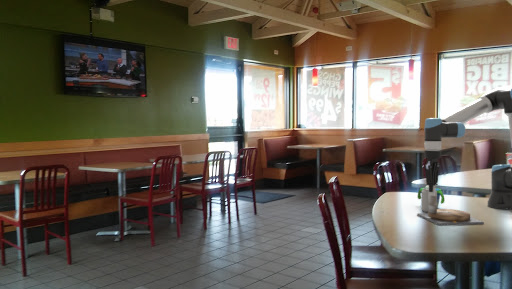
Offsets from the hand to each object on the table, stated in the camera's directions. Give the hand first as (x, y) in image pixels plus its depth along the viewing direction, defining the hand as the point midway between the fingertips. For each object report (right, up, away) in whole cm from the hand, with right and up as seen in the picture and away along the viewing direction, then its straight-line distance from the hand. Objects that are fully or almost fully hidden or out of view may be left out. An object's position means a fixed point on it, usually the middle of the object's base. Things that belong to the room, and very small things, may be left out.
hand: (431, 198), depth 204 cm
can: (+4, -9, +14) cm, 17 cm away
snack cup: (+10, -8, +24) cm, 27 cm away
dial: (+6, -8, -5) cm, 11 cm away
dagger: (+21, -7, +51) cm, 56 cm away
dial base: (+6, -9, -5) cm, 12 cm away
